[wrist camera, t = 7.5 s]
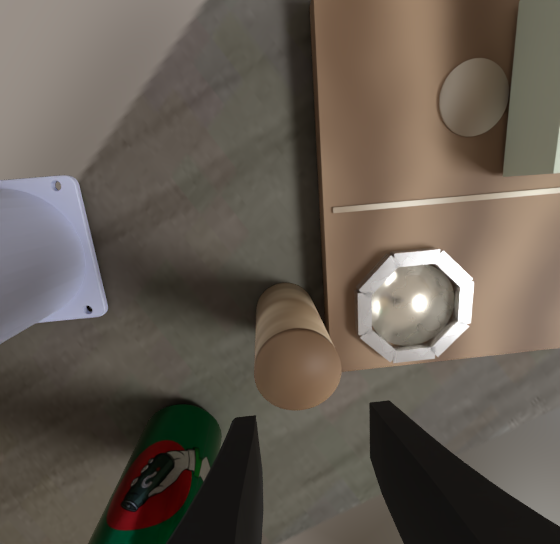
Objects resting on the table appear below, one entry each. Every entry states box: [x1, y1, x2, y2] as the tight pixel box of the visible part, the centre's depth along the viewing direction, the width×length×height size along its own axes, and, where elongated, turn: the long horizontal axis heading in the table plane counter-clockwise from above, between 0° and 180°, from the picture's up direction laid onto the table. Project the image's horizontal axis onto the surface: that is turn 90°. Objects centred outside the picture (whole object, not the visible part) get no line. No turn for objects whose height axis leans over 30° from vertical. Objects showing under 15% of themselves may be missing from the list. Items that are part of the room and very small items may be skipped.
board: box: [310, 0, 560, 372], centre depth 18 cm, size 16×20×1 cm
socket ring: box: [355, 247, 474, 363], centre depth 18 cm, size 7×7×1 cm
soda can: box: [88, 404, 221, 544], centre depth 15 cm, size 5×5×12 cm
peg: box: [254, 283, 341, 410], centre depth 16 cm, size 4×4×7 cm
